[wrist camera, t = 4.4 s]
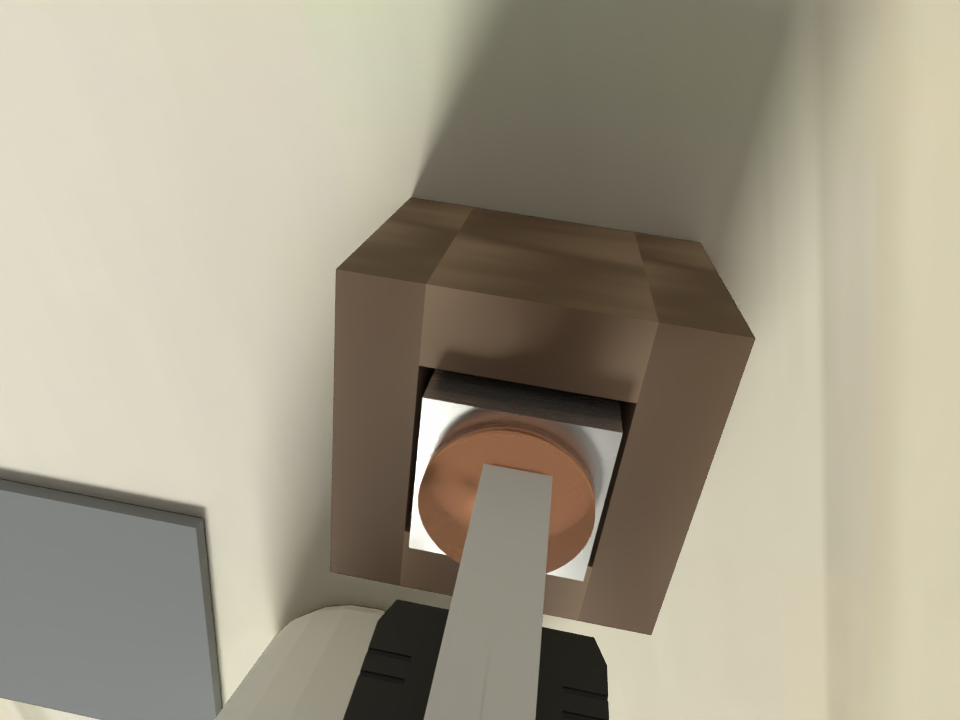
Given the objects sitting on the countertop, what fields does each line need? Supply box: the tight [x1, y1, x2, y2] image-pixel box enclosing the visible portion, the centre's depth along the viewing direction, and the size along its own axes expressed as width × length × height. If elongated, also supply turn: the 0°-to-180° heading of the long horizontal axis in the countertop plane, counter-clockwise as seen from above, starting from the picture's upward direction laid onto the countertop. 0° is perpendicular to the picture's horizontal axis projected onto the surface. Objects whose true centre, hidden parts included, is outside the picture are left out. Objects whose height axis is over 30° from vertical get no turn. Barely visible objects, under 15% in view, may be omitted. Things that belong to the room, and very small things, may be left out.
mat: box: [0, 479, 222, 720], centre depth 31 cm, size 15×15×1 cm
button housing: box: [330, 198, 755, 635], centre depth 19 cm, size 9×9×7 cm
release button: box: [409, 368, 623, 581], centre depth 17 cm, size 4×4×6 cm
